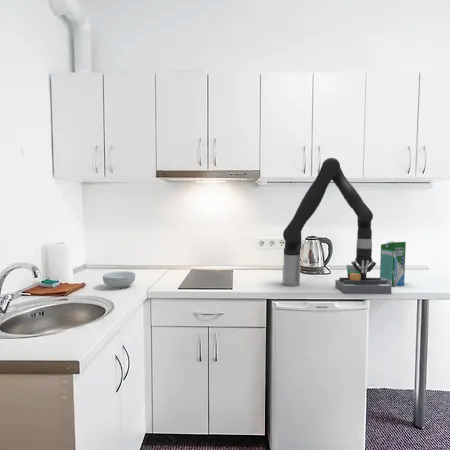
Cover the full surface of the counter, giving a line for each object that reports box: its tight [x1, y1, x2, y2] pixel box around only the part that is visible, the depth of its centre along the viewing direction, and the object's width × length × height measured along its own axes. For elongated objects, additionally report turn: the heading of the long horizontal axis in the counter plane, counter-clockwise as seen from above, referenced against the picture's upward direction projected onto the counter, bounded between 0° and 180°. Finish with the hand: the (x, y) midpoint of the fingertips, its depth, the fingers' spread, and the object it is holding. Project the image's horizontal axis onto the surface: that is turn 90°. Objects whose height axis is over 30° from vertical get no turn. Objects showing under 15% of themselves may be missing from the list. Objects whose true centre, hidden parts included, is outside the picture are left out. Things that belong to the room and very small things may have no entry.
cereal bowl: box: [102, 270, 136, 290], centre depth 181 cm, size 17×17×7 cm
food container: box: [345, 264, 360, 278], centre depth 195 cm, size 12×6×10 cm, turn 105°
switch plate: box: [334, 277, 392, 295], centre depth 175 cm, size 24×14×6 cm, turn 90°
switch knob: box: [350, 273, 361, 280], centre depth 175 cm, size 4×4×4 cm
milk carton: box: [379, 240, 407, 287], centre depth 189 cm, size 9×9×25 cm
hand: (363, 279), depth 175 cm, fingers closed
